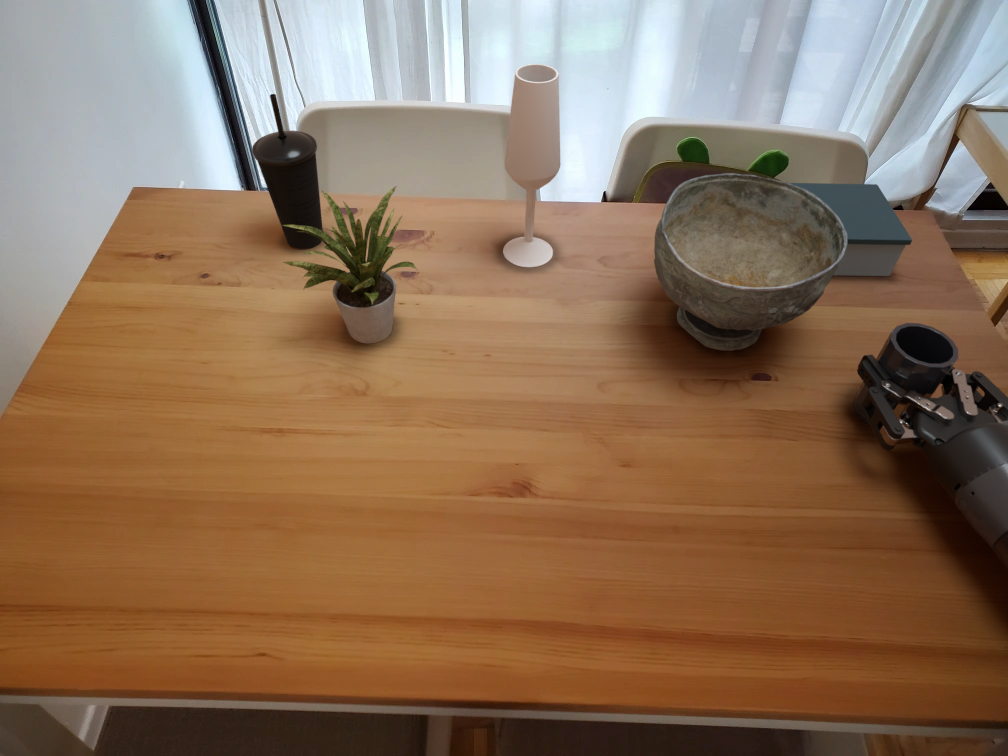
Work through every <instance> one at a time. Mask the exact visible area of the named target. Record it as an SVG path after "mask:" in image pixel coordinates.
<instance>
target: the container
mask: <svg viewBox="0 0 1008 756" xmlns="http://www.w3.org/2000/svg"><path fill="white" fill-rule="evenodd" d="M789 183H790V184H792V185H795V186H797V187H800V188H803V189H806V190H807V191H809V192H811V193H813V194H814V195H816V196H817V197H818V198H820V199H821V200H822V201H823V202H825V203H826V204H827V205H828V206H829V207H830V208H831V209H832V210H833V211H834V213H835V214H836V215H837V216H838V217H839V218H840V220H841V222H842V224H843V226H844V228H845V230H846V232H847V247H846V251H845V253H844V255H843V257H842V259H841V260H840V262H839V264H838V267H837V269H836V271H835V273H834V274H833V276H841V277H843V276H845V277H848V276H850V277H851V276H852V277H890V276H891V275H892V272H893V271H894V269H895V267H896V265H897V263H898V261H899V259H900V257H901V256H902V253H903V252H904V249H905V248H906V246H910V245H911V244H912V242H913V239H912V237H911V235H910V233H908V231H907V229H906V227H905V226H904V224H903V222H902V221H901V220H900V218H899V217H898V215H897V213H896V212H895V210H894V209H893V207H892V205H891V204H890V202H889V201H888V199H887V198H886V195H884V193H883V191H882V190H881V188H880V186H879V185H878V184H877V183H876V184H875V183H873V184H872V183H823V182H822V183H821V182H819V183H818V182H817V183H816V182H789Z"/></svg>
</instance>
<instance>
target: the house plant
mask: <svg viewBox="0 0 1008 756" xmlns="http://www.w3.org/2000/svg"><path fill="white" fill-rule="evenodd" d="M396 189H397V186H394V187H393V188H391V189H390V190H389V191H387V193H386V194H384V196H382V198H381V200H380V202H379V203H378V205H377V207H376V208H375V210H374V211H373V212H372V213H371V214H370V216H369V218H368V220H367V222H366V224H365V229H364V233H363V226H362V221H361V220H360V218H357V220H356V219H355V216H354V213H353V212H352V209H351V208H350V207H349V205H348V204H347V202H345V201H344V200H342V202H343V205H344V207H345V211H346V213H347V214H346V215H347V216H348V220H349V224H350V228H351V233H352V235H353V238H354V240H353V238H352V236H351V233H350V231H349V229H348V226H347V223H346V221H345V217H344V214H343V213H342V210H341V208H340V206H339V205H338V203H336V201H335V200H334V199H333V198H332V197H331V196H330V195H329V194H328V193H327V192H325V190H321V192H322V193H323V196H324V198H325V199H326V201H327V203H328V205H329V207H330V209H331V211H332V214H333V217H334V219H335V222H336V226H337V228H338V230H337V229H336V228H335V227H334V226H333V225H331V228H332V229H328V228H324V227H322V228H323V229H325V230H327V231H329V232H332V233H333V235H334V238H333V237H332V236H330V234H327V233H326V232H324V230H323V231H321V230H319V229H317V228H315V227H310V226H301V225H282V226H287V227H292V228H297V229H301V230H305V231H297V232H305V233H309V234H311V235H314V236H316V237H317V238H319V239H320V240H322V242H323V244H325V246H323V248H324V249H325V250H328V251H330V252H333V253H334V254H335V255H336V256H337V257H338V258H339V259H340V260H341V261H340V260H339V259H338V258H335V257H334V256H332V255H330V254H329V253H326V252H323V251H320V250H307V251H305V252H304V253H303V255H319V256H325V257H328V258H330V259H333V260H335V261H337V262H339V263H341V262H342V265H343V266H344V267H345V268H346V269H348V270H349V271H345V270H342V269H341V268H336V267H333V266H328V265H322V264H318V263H313V262H309V261H301V260H295V261H283V262H282V263H283V264H286V265H289V266H290V267H297V268H301V269H303V270H305V271H307V272H306V273H305V274H304V275H303V276H302V278H305V277H307V278H309V279H308V280H307V282H306V283H305V285H304V287H303V289H302V291H305V289H309V288H313V287H314V286H317V285H319V284H322V283H326V282H329V281H332V282H333V281H334V282H335V283H334V285H333V287H332V295H333V298H334V301H335V303H336V306H337V308H338V310H339V312H340V315H341V317H342V319H343V322H344V324H345V326H346V328H347V331H348V333H349V335H350V337H351V338H352V339H353V340H355V341H356V342H358V343H362V344H377V343H379V342H383V341H385V340H386V339H387V338H389V336H390V335H391V334H392V331H393V325H394V324H393V323H394V313H395V305H396V304H395V302H396V293H397V283H396V280H395V279H394V278H393V276H392V275H391V274H390V273H388V272H390V271H391V270H395V269H399V268H413V269H415V270H416V271H418V268H417V267H416V266H415V264H414V262H411V261H406V260H405V261H400V262H398V263H395V264H393V265H391V266H389V267H388V268H387V269H386V270H383V269H384V267H385V265H386V263H387V262H388V260H389V259H390V257H391V256H392V255H393V252H394V251H395V249H397V248H399V247H400V246H402V245H403V244H400V245H397V246H389V245H390V244H391V242H392V240H394V239H393V237H394V234H395V233H396V230H397V228H398V226H399V224H400V222H401V219H402V217H403V214H402V215H401V216H400V217H399V219H398V220H397V221H396V223H395V224H394V226H393V227H392V229H391V231H390V233H389V234H388V236H386V234H387V232H388V230H389V228H390V225H391V222H392V218H393V216H394V211H395V207H393V210H392V211H391V212H390V214H389V216H388V217H387V219H386V221H385V224H384V226H383V229H382V231H381V233H380V235H379V232H380V228H381V225H382V222H383V217H384V215H385V213H386V212H387V209H388V206H389V203H390V200H391V198H392V195H393V194H394V193H395V191H396ZM307 231H308V232H307ZM319 236H320V237H319ZM321 237H322V238H323V239H322V238H321ZM418 272H419V271H418Z"/></svg>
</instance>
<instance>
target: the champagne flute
mask: <svg viewBox="0 0 1008 756" xmlns="http://www.w3.org/2000/svg"><path fill="white" fill-rule="evenodd" d="M512 87H513V88H512V96H511V103H510V104H511V105H510V112H509V113H510V114H509V121H508V129H507V138H506V147H505V155H504V169H505V171H506V173H507V174H508V176H509V177H510V179H511V180H512V181H513V182H514V183H516V184H517V185H518V186H519V187H521V189H524V190H525V212H524V234H523V236H519V237H515V238H512V239H510V240H509V241H507V242H506V244H505V245H504V246H503V249H502V253H503V257H504V258H505V259H506V260H507V261H508V262H509V263H511V264H512V265H515V266H518V267H522V268H535V267H536V268H537V267H540V266H543V265H545V264H547V263H548V262H549V261H550V260H551V259H552V258H553V255H554V249H553V248H552V246H551V244H549V242H547V241H546V240H544V239H542V238H539V237H535V236H534V231H535V214H536V195H537V194H536V193H537V190H540V189H542V188H543V187H544V186H546V185H548V184H549V183H551V182H552V180H554V178H555V177H556V176H557V174H559V171H560V169H561V127H560V126H561V123H560V118H561V117H560V76H559V71H558V70H557V68H555V67H553V66H551V65H548V64H544V63H529V64H524V65H521V66H519V67H518V68H517V69H516V70H515V72H514V80H513V86H512Z"/></svg>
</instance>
